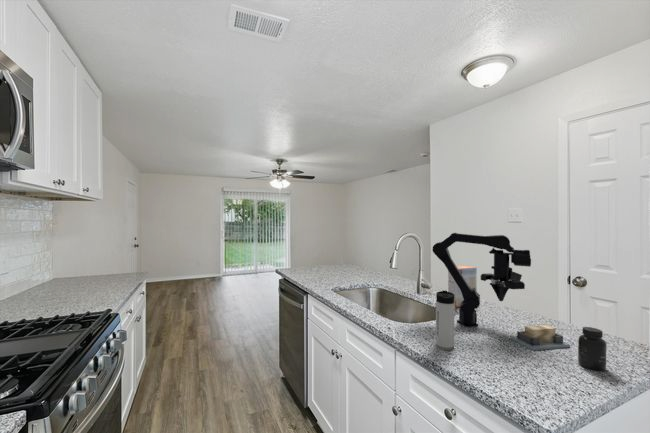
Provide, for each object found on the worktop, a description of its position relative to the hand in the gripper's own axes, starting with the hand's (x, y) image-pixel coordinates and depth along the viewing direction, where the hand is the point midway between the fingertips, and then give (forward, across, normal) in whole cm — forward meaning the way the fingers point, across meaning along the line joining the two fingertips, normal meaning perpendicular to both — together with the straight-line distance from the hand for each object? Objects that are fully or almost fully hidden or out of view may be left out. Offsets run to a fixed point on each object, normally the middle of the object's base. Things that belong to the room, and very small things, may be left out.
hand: (501, 301), depth 128 cm
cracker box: (+12, +33, -5) cm, 36 cm away
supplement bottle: (+12, -33, -5) cm, 36 cm away
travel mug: (+12, -12, +34) cm, 38 cm away
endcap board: (+12, -15, -4) cm, 20 cm away
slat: (+11, -15, -4) cm, 19 cm away
